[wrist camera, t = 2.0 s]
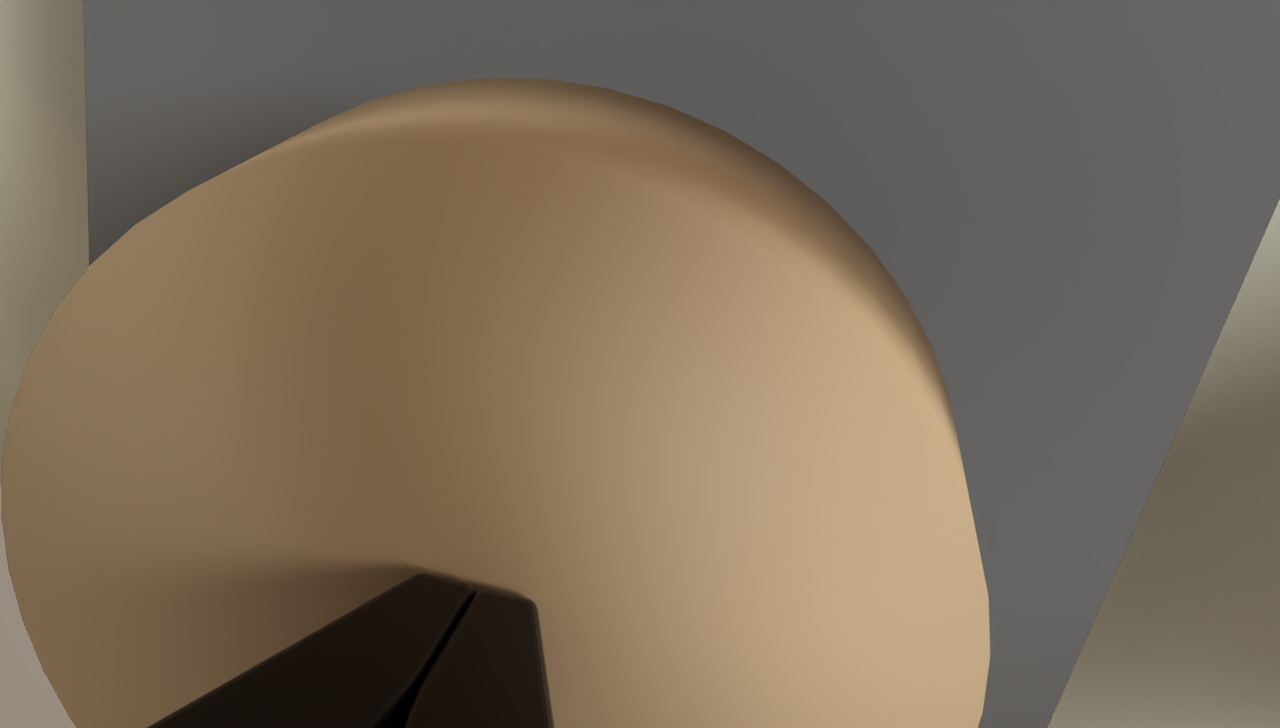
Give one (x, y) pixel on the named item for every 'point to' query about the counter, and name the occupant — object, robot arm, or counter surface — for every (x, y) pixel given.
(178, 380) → the tan rounded lump
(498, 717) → the robot arm
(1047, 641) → the gray rectangular block
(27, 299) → the counter surface
